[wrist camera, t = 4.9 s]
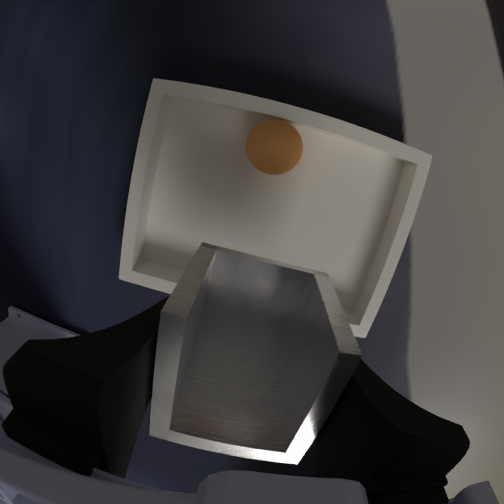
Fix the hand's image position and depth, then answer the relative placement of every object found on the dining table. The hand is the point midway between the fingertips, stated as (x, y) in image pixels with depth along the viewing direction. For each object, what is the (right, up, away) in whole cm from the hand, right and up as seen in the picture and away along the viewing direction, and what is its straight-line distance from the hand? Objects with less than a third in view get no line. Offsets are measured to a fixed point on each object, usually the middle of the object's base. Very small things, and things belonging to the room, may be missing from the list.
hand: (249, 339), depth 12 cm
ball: (+1, +9, +4) cm, 10 cm away
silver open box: (0, +1, +2) cm, 3 cm away
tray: (+1, +6, +7) cm, 10 cm away
